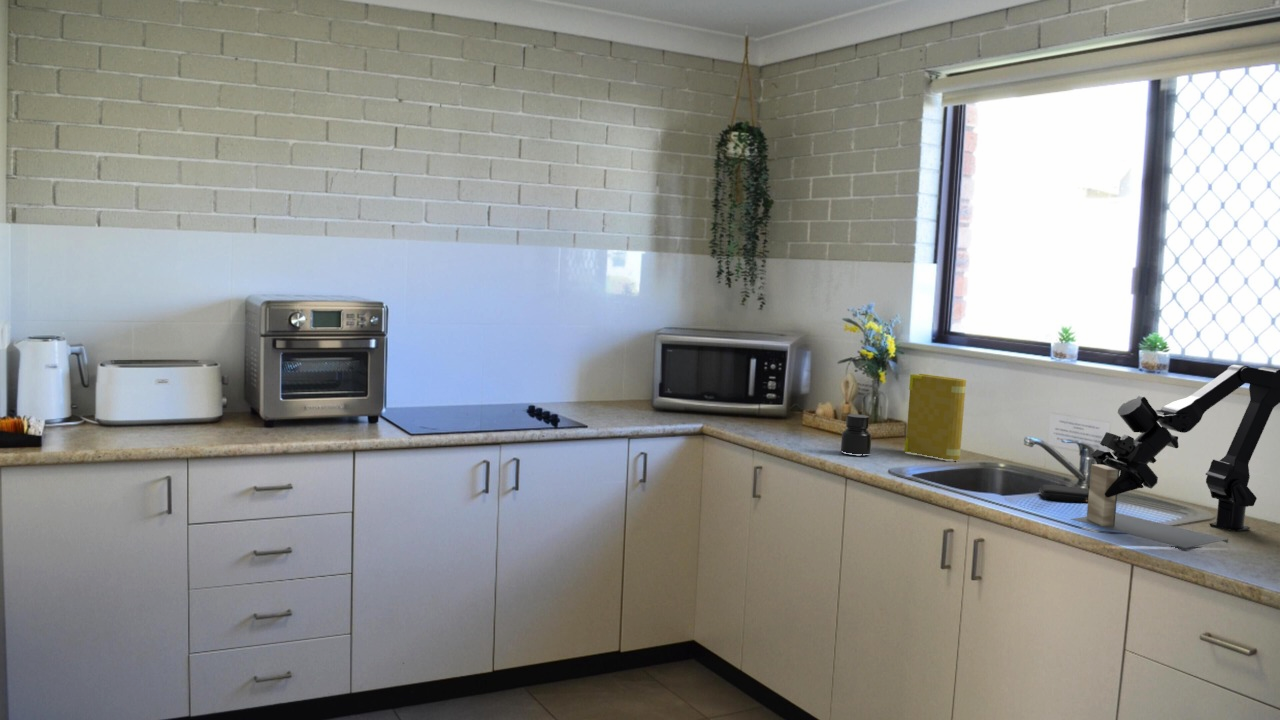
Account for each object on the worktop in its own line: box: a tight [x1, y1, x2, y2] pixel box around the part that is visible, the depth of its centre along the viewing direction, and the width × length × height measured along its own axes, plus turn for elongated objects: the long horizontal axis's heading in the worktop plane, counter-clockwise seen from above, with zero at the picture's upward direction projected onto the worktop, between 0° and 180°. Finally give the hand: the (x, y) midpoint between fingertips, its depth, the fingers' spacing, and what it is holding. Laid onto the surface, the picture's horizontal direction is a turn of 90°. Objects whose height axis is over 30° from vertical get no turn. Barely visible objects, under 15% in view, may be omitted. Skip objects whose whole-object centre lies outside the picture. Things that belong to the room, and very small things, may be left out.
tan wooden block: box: [1086, 463, 1121, 526], centre depth 242 cm, size 3×6×13 cm, turn 7°
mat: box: [1070, 512, 1229, 552], centre depth 238 cm, size 18×27×1 cm, turn 34°
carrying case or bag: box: [1038, 484, 1089, 505], centre depth 270 cm, size 11×3×15 cm
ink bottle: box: [840, 413, 872, 455], centre depth 322 cm, size 10×9×12 cm
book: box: [903, 373, 967, 460], centre depth 324 cm, size 17×7×25 cm, turn 42°
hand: (1097, 492), depth 242 cm, fingers closed on tan wooden block, 6 cm apart
